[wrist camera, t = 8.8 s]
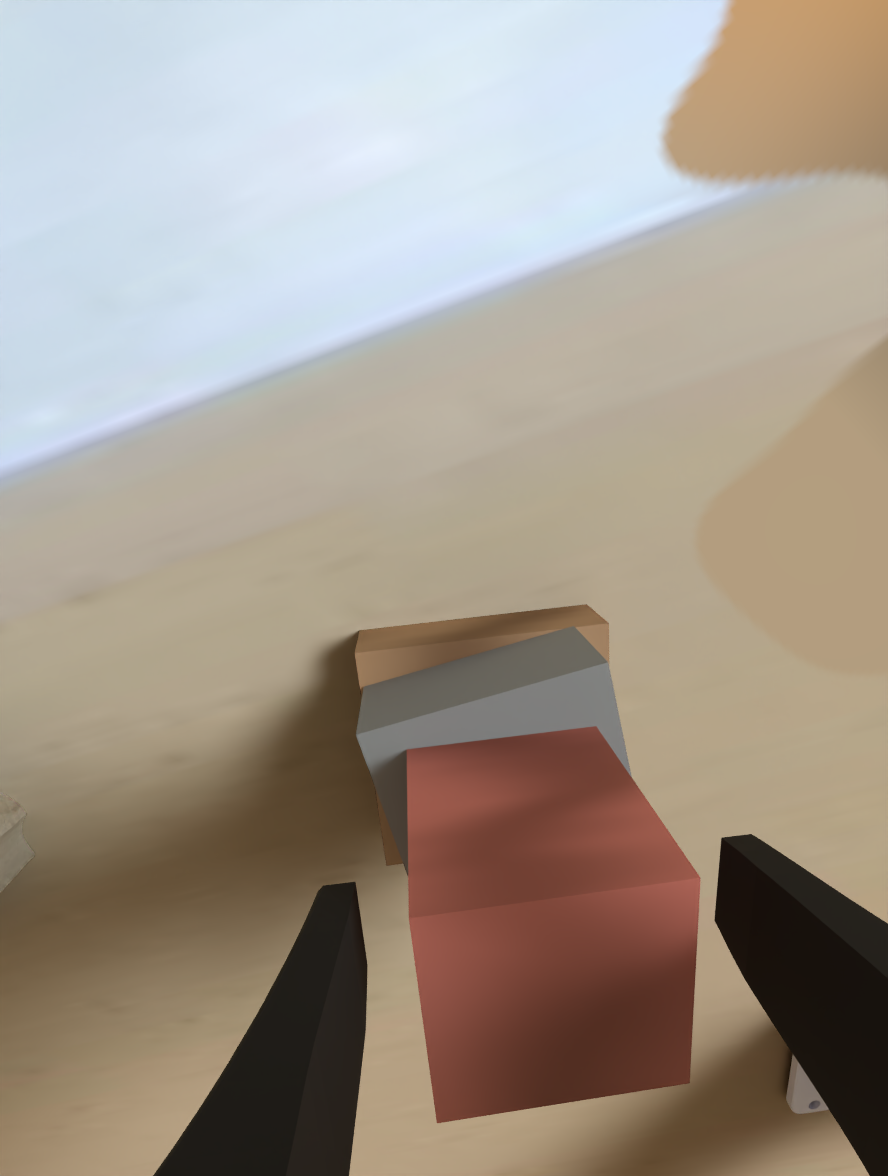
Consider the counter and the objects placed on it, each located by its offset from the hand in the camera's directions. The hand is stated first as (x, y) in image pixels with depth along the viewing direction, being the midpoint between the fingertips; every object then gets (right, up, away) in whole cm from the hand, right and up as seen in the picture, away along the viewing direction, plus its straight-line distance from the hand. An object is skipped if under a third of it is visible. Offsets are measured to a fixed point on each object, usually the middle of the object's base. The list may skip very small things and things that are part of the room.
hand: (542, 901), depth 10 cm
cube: (0, 0, +3) cm, 3 cm away
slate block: (0, +1, +5) cm, 5 cm away
